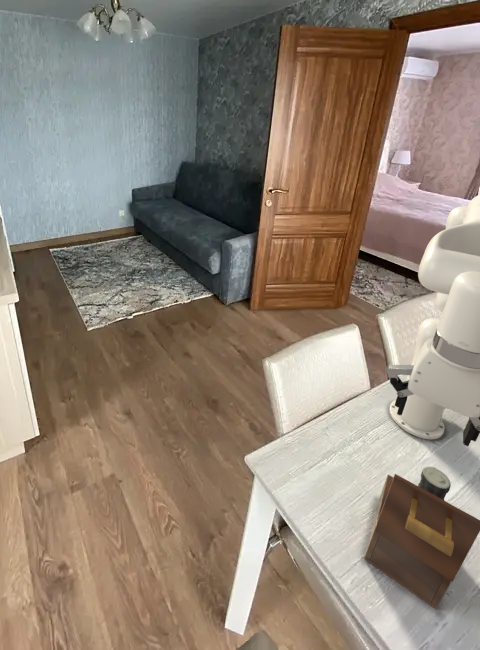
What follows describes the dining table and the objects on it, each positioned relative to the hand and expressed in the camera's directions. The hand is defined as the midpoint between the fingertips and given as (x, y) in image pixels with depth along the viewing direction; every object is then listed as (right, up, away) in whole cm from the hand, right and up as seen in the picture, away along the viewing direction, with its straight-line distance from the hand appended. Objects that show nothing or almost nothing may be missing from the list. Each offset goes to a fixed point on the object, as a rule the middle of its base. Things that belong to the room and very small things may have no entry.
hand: (431, 424), depth 61 cm
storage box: (-1, -28, +6) cm, 28 cm away
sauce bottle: (-1, -27, +5) cm, 28 cm away
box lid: (-5, -14, -5) cm, 16 cm away
